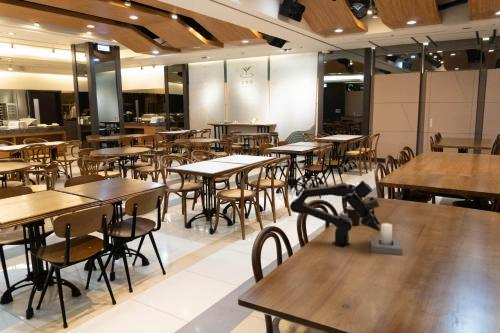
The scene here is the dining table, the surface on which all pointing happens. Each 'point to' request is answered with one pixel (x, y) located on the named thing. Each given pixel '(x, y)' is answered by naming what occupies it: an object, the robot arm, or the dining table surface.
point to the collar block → (386, 246)
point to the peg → (386, 234)
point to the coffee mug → (353, 216)
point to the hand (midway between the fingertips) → (379, 227)
